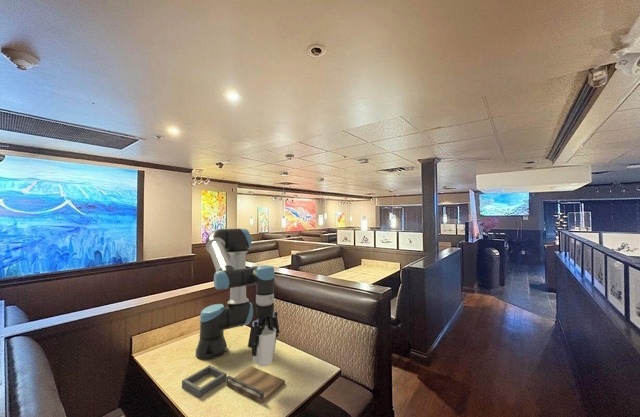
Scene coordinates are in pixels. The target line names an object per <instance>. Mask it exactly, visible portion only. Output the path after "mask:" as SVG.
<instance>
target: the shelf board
mask: <svg viewBox="0 0 640 417" xmlns="http://www.w3.org/2000/svg"><path fill="white" fill-rule="evenodd" d="M285 383H286V381H285V379H282V378H280V377H279V376H276V375H273V374H271V373H269V372H266V371H264V370H262V369H259V368H257V367H255V366H252V365H250V366H249V367H248V368H246V369H245V370H243V371H241V372H240V373H238V374H237V375H235V376H234V377H233V376H231V375H227V380H226V386H227V387H228V388H230V389H232V390H233V391H236V392H238V393H239V394H242V395H243V396H245V397H247V398H249V399H251V400H253V401H255V402H256V403H259V404H261V405H262V404H264V403H265V402H266V401H267V400H268V399H269V398H271V397H272V396H273V395H274V394H275V393H276V392H277V391H279V390H280V389H281V388H282V387H283V386H285V385H286V384H285Z"/></svg>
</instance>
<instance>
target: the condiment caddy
mask: <svg viewBox="0 0 640 417" xmlns="http://www.w3.org/2000/svg"><path fill="white" fill-rule="evenodd" d="M207 375H210V376H212V377H214V379H212V380H210V381H209V382H207V383H205V384H204V385H202V386H201V387H200V386H198V385H197V384H195V383H196V382H197V381H199V380H201V379H203V378H204V377H206V376H207ZM227 376H228V373H227V372H225V371H223V370H220V369H219V368H216V367H215V366H212V365H207V366H205V367H204V368H201V369H200V370H198V371H196V372H195V373H192V374H191V375H189V376H187V377H186V378H184V379H182V380H181V388H182V389H183V390H184V391H186V392H188V393H190V394H192V395H193V396H195V397H197V398H198V399H201V398H202V397H203V396H205V395H207V394H208V393H210V392H211V391H213V390H214V389H216V388H218V386H220V385H222V384H223V383H225V382H227Z"/></svg>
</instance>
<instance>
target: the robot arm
mask: <svg viewBox="0 0 640 417" xmlns="http://www.w3.org/2000/svg"><path fill="white" fill-rule="evenodd" d="M204 244H205V245H204V246H205V249H206V251H207V252H208V253H209V254H210V257H211V260H212V264H213V266H214V269H215V272H214V274H213V285H214V288H215V289H216V290H227V289H229V300H228V301H227V303H226V306H224V304H223V303H216V304H211V305H209V306H206V307H205V308H203V309H202V310H201V311H200V316H199V317H200V318H199V340H198V344H197V346H196V349H195V357H196V358H197V359H199V360H205V361H207V360H213V359H217V358H220V357H221V356H223V355H224V354H225V353H227V351H228V345H227V341H226V339H225V336H224V335H225V334H224V332H225V330H230V329H235V328H239V327H243V326H247V325H249V324H250V331H249V336H248V343H247V347H248V348H250V349H251V356H252V363H253V364H256V365H257V364H259V347H258V344H259V336H258V335H261V334H262V331H263V330H264V328H265V326H268V329H269V330H271V331H273V328H275V329H276V337H275V342H274V350H273V354H275V353H276V344H277V338H278V337H279V334H280V332H281V331H280V326H279V318H278V312H277V311H275V303H274V302H275V275H276V274H275V267H274V266H273V265H268V264H267V265H259V266H258V265H253V266H251V267H248V268H247V266H246V254H247V253H248V252H249V249H250V248H251V247H252V236H251V234H250V231H249V230H248V229H246V228H239V227H238V228H220V229H219V228H218V229H215V230H214V231H213V232H211V233H210V234H209V235H208V236H207V238H206V240H205V243H204ZM249 286H255V287H256V288H255V290H256V291H255V314H256V315H257V316H256V319H255V320H252V319H253V316H254V308H253V306H254V305H253V304H252V302H250V300H249V298H248V297H247V287H249Z"/></svg>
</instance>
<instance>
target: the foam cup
mask: <svg viewBox="0 0 640 417" xmlns="http://www.w3.org/2000/svg"><path fill="white" fill-rule="evenodd" d="M276 330H277V329H275V328H273V331H271V330H269V329H268V326H265V328H264V330H263V331H262V334H261V335H258V336H259V344H258V347H259V364H256V365H257V366H259V367H268V366H270V365H271V364H272V363H273V358H274V356H273V355H274V353H273V350H274V342H275V337H276ZM276 338H277V337H276Z"/></svg>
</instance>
